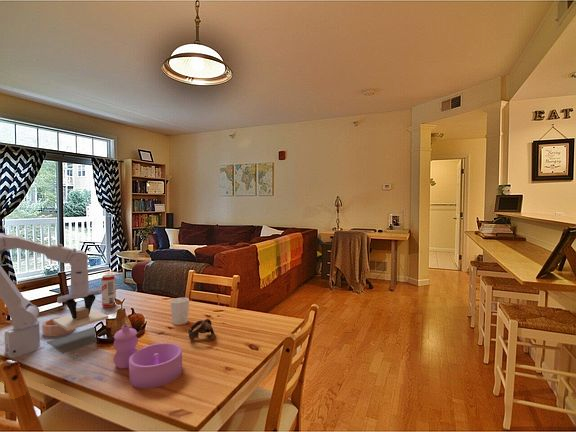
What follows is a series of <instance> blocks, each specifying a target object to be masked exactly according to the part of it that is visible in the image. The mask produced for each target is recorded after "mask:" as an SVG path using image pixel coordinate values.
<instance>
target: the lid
mask: <svg viewBox="0 0 576 432" xmlns="http://www.w3.org/2000/svg"><path fill="white" fill-rule="evenodd" d="M60 317H61V318H57V317H56V318H57V319H54V320H53V322H54V323H55V324H57V325H59V326H60V327H62V328H64V329H65V330H67V331H69V330H72V329H75V330H76V329H78V328H81V327H85V326H87V325H91V324H94V323H97V322H100V321H104V320H107V319H109V315H108V314H106V313H103V312H101V311H98V310H96V309H94V308H91V310H90V314H89V309H88V308H86V307H85V306H81V307H76V318H75V319H73V318H72V315H71V314H69V315H65V316H64V317H63V316H60Z"/></svg>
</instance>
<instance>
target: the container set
mask: <svg viewBox="0 0 576 432" xmlns="http://www.w3.org/2000/svg"><path fill="white" fill-rule="evenodd" d="M137 334H138V331H137V330H136V329H135V328H133V327H130V324H124V325H122V326H121V329H119V330H117V331H116V332H115V333H114V336H113V338H114V341H113V344H112V345H113V349H114V350H115V351H116V352H115V354H114V355H113V363H114V365H115V367H117V368H118V369H123V370H124V369H128V371H129V373H128V377H129V384H130V385H131V386H133V387H135V388H138V389H153V388H159V387H163V386H166V385H168V384H170V383H172V382H174V381H175V380H177V379H178V378H179V376H181V374H182V372H183V349H182V346H180V345H178V344H176V343H172V342H161V343H154V344H150V345H146V346H143V347H140V348H139V349H137V345H138V343H139V338H138V337H137Z"/></svg>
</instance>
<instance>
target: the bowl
mask: <svg viewBox="0 0 576 432" xmlns="http://www.w3.org/2000/svg"><path fill="white" fill-rule="evenodd" d="M61 317H64V316H57V317H54V318H50V319H48V320H46V321H44V322H43V323H42V324H41V327H42V336H44V337H57V336H58V337H59V336H62V335H66V334H69V333H71V332H73V331H74V330H76V328H75V329H72V330H69V331H67V330H65V329H64V328H62V327H60V326H59V325H57V324H55V323H54V322H53V320H54V319H57V318H61Z"/></svg>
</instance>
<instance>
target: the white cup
mask: <svg viewBox="0 0 576 432" xmlns="http://www.w3.org/2000/svg"><path fill="white" fill-rule="evenodd" d="M169 303H170V312H171V323H172V324H173V325H177V326H179V325H184V324H187V323H188V322H189V314H190V313H189V311H190V309H189V308H190V299H189V298H188V297H176V298H173V299H171V300H170V302H169Z"/></svg>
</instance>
